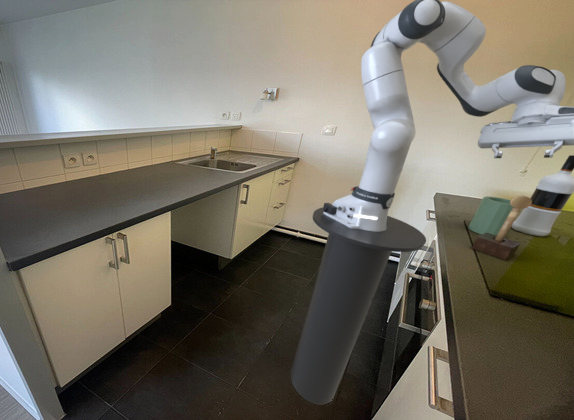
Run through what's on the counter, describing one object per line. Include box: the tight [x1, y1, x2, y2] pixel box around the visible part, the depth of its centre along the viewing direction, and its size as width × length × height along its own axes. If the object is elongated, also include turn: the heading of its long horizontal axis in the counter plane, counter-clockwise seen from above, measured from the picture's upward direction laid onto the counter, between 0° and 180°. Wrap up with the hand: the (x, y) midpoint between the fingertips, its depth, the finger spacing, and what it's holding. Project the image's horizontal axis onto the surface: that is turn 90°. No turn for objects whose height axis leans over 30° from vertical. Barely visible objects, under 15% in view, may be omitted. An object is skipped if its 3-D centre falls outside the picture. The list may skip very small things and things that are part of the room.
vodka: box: [511, 154, 574, 237], centre depth 91 cm, size 9×9×30 cm
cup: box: [468, 195, 514, 236], centre depth 92 cm, size 9×9×13 cm
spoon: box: [495, 195, 532, 242], centre depth 76 cm, size 4×2×19 cm, turn 60°
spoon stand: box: [471, 233, 521, 261], centre depth 79 cm, size 8×8×4 cm
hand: (521, 157), depth 75 cm, fingers open, 8 cm apart
